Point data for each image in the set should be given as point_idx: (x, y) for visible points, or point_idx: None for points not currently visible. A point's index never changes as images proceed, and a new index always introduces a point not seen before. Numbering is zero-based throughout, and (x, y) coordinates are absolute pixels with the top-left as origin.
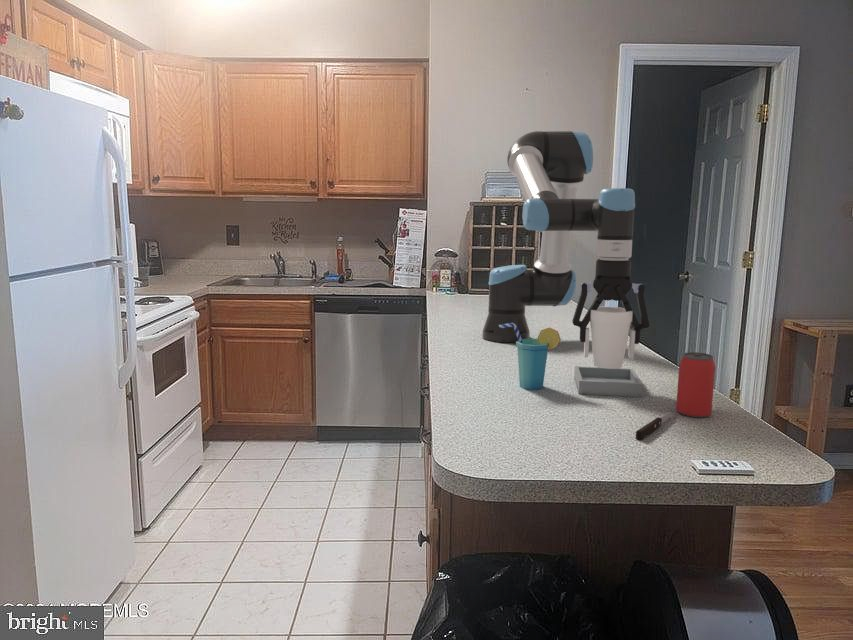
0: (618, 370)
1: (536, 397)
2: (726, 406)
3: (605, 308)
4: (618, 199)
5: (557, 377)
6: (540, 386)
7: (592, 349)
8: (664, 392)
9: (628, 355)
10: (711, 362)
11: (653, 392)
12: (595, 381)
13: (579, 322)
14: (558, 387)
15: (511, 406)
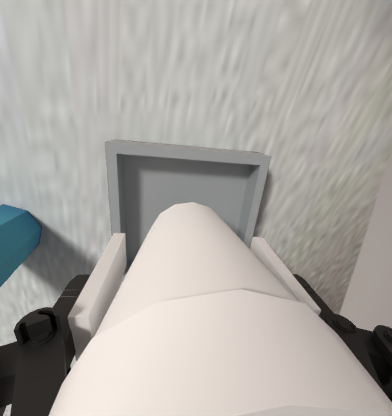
0: (230, 162)
1: (41, 291)
2: (338, 285)
3: (219, 412)
4: None
5: (67, 134)
6: (34, 247)
7: (138, 251)
8: (286, 231)
9: (253, 241)
10: None
11: (266, 233)
12: None
13: (10, 397)
14: (78, 225)
15: (7, 336)
